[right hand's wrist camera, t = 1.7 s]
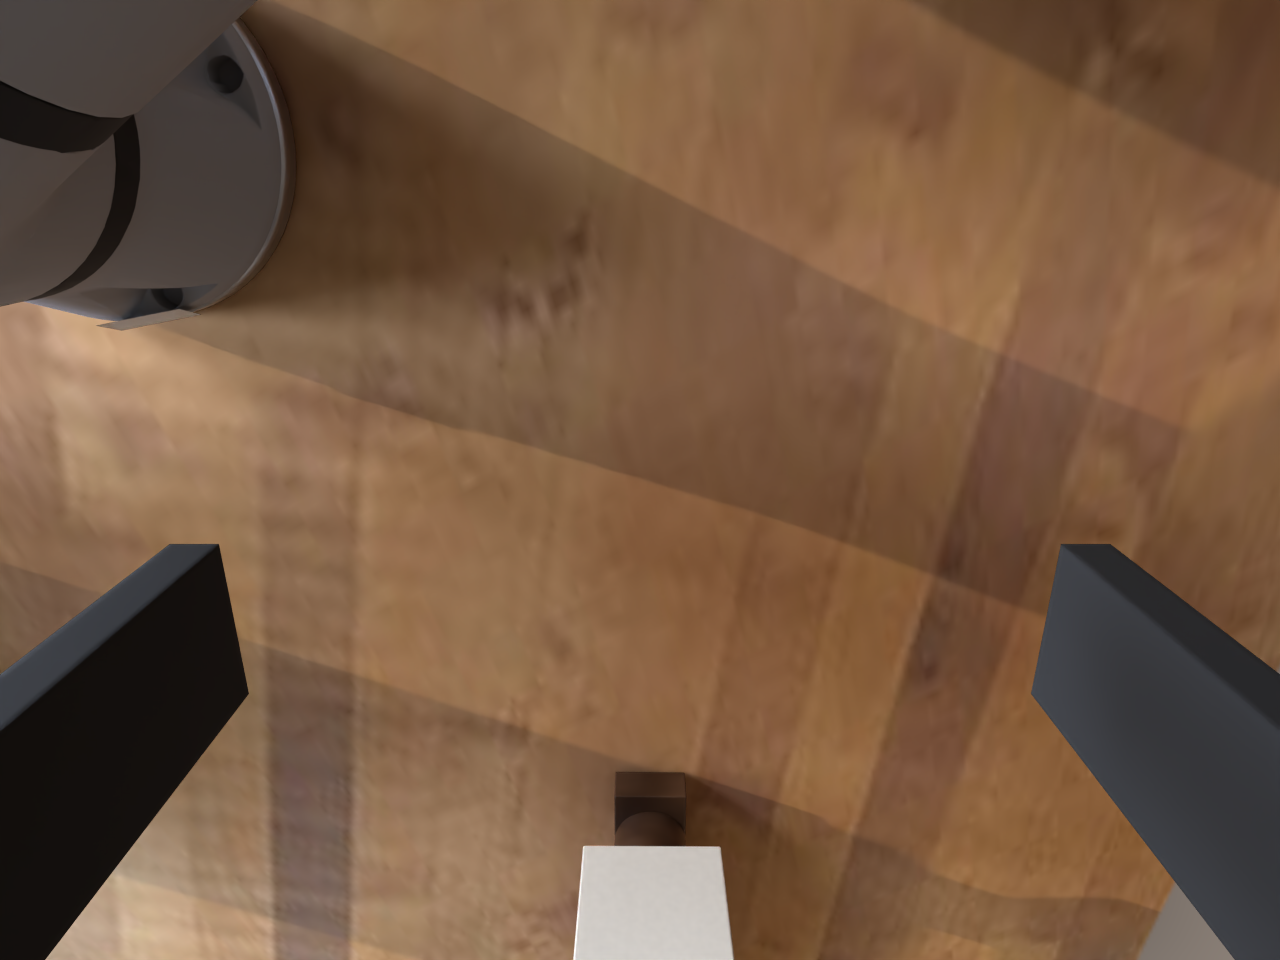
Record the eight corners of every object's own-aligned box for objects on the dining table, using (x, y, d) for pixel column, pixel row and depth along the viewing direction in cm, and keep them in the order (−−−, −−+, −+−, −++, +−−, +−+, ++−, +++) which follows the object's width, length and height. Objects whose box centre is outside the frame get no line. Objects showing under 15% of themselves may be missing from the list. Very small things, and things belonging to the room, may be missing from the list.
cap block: (585, 946, 43) (575, 1083, 37) (583, 844, 41) (572, 971, 34) (715, 947, 43) (729, 1084, 37) (721, 845, 41) (736, 972, 34)
